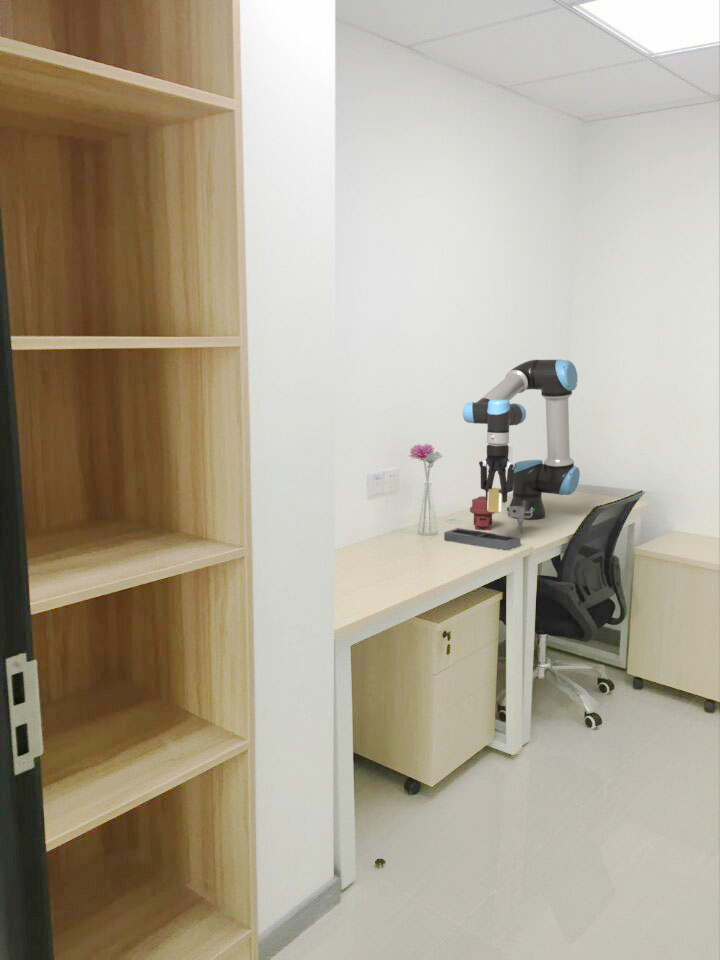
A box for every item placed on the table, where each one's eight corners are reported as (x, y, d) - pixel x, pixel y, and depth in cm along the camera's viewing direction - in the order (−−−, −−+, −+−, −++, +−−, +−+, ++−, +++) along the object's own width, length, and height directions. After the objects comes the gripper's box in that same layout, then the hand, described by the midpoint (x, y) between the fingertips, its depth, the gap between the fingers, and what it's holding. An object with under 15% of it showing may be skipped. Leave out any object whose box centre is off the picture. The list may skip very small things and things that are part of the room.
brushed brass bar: (493, 510, 297) (494, 487, 296) (503, 511, 294) (504, 488, 293) (487, 511, 294) (488, 489, 293) (497, 512, 291) (498, 490, 290)
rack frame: (457, 535, 311) (457, 527, 311) (520, 545, 295) (520, 537, 295) (444, 540, 304) (444, 532, 304) (507, 550, 288) (508, 542, 288)
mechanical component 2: (500, 530, 321) (477, 532, 317) (487, 525, 330) (465, 527, 326) (501, 498, 319) (478, 500, 315) (488, 494, 328) (465, 496, 324)
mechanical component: (533, 534, 313) (534, 508, 312) (506, 533, 315) (506, 507, 314) (533, 532, 316) (534, 506, 314) (506, 531, 318) (507, 505, 316)
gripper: (470, 443, 293) (469, 509, 297) (514, 447, 282) (512, 515, 286) (481, 441, 299) (480, 506, 302) (525, 445, 288) (523, 511, 292)
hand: (496, 510), depth 294 cm, fingers closed on brushed brass bar, 4 cm apart
